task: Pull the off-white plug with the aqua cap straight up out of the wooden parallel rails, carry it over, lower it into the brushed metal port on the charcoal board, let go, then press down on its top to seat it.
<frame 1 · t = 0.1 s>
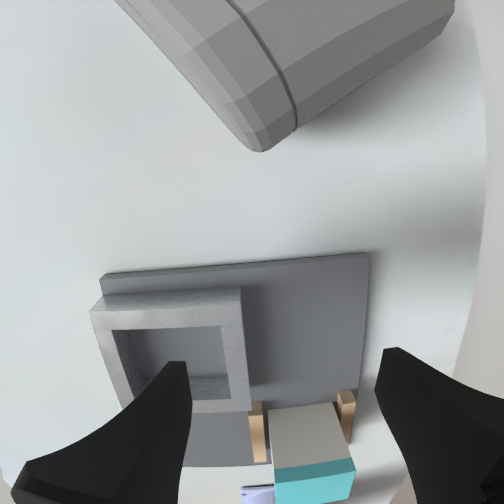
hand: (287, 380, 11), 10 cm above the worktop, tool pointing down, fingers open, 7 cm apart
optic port: (178, 345, 21), resting on panel board
plug: (299, 423, 23), point 1 cm above the worktop, touching panel board
wooden parallel rails: (299, 423, 23), resting on panel board
panel board: (244, 384, 23), on the worktop
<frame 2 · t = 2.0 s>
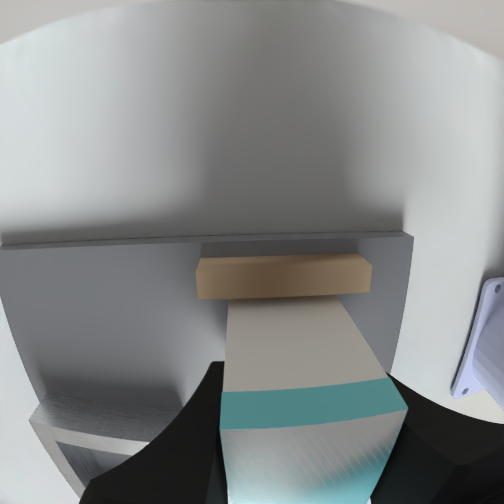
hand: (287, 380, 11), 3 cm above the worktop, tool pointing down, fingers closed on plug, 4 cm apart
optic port: (129, 453, 15), resting on panel board
plug: (280, 344, 13), point 1 cm above the worktop, touching gripper, panel board
wooden parallel rails: (280, 344, 13), resting on panel board
panel board: (197, 400, 15), on the worktop
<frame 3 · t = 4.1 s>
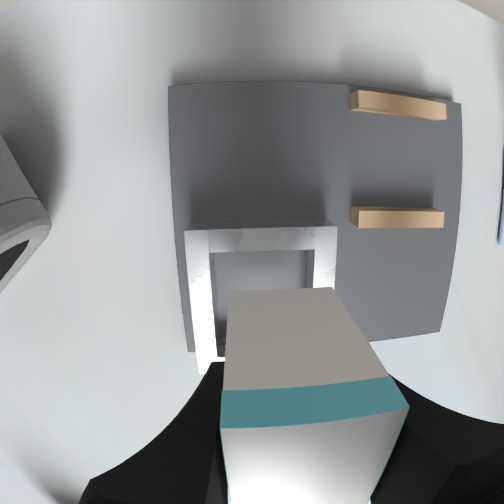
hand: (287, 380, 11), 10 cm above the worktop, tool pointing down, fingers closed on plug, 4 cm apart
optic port: (260, 290, 20), resting on panel board
plug: (280, 344, 13), point 8 cm above the worktop, touching gripper
wooden parallel rails: (395, 160, 18), resting on panel board
panel board: (330, 221, 20), on the worktop
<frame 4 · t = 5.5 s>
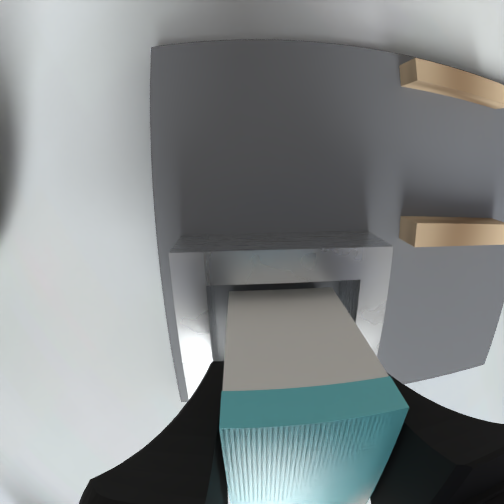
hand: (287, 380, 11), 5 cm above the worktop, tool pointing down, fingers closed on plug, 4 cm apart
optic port: (277, 328, 15), resting on panel board
plug: (280, 344, 13), point 2 cm above the worktop, touching gripper
wooden parallel rails: (455, 156, 13), resting on panel board
panel board: (370, 235, 15), on the worktop
when the fingers open (5 cm above the worktop, at t = 6.7 s): plug drops 1 cm, resting on panel board.
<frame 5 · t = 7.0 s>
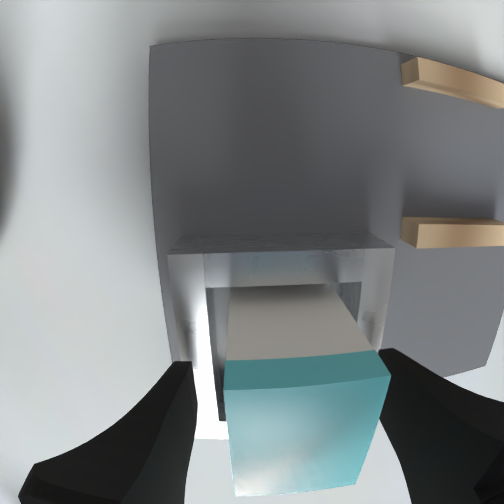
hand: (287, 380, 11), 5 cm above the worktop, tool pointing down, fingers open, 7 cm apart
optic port: (277, 330, 14), resting on panel board
plug: (278, 329, 14), point 1 cm above the worktop, touching panel board
wooden parallel rails: (457, 156, 12), resting on panel board
panel board: (372, 236, 14), on the worktop
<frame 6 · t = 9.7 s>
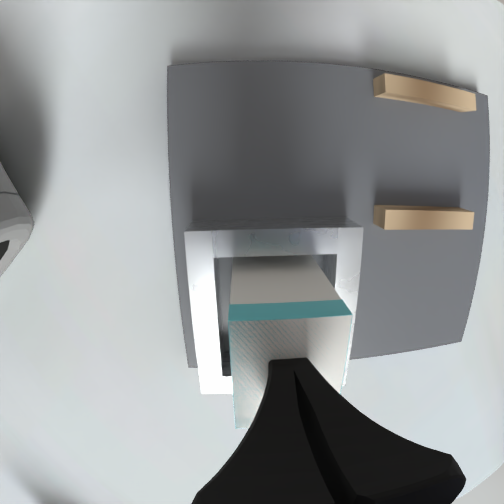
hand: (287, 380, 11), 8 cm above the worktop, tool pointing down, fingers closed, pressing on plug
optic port: (271, 299, 18), resting on panel board
plug: (271, 298, 18), point 1 cm above the worktop, touching gripper, panel board
wooden parallel rails: (422, 154, 16), resting on panel board
panel board: (350, 221, 18), on the worktop
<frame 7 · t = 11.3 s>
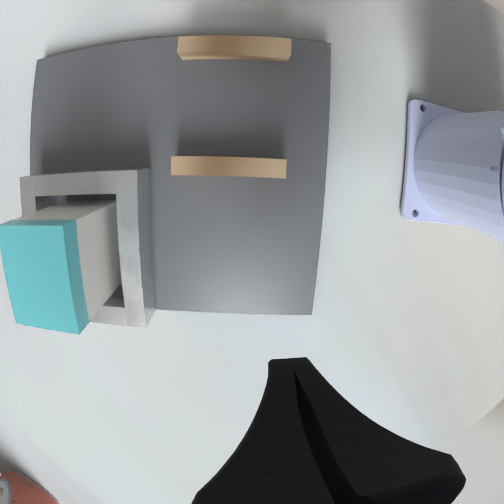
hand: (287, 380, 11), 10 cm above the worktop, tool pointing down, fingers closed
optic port: (94, 240, 19), resting on panel board
plug: (94, 239, 19), point 1 cm above the worktop, touching panel board
wooden parallel rails: (232, 106, 17), resting on panel board
panel board: (164, 174, 19), on the worktop
canned food: (31, 489, 32), on the worktop
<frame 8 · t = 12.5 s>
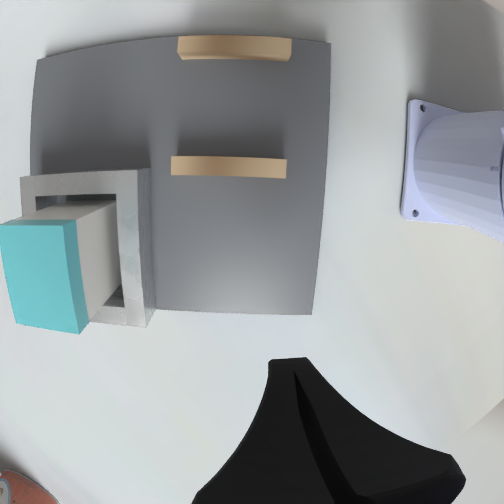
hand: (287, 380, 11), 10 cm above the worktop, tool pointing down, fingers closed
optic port: (94, 240, 19), resting on panel board
plug: (94, 239, 19), point 1 cm above the worktop, touching panel board
wooden parallel rails: (232, 106, 17), resting on panel board
panel board: (164, 174, 19), on the worktop
canned food: (31, 489, 32), on the worktop
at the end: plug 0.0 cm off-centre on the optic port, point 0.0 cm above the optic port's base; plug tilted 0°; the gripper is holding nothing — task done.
